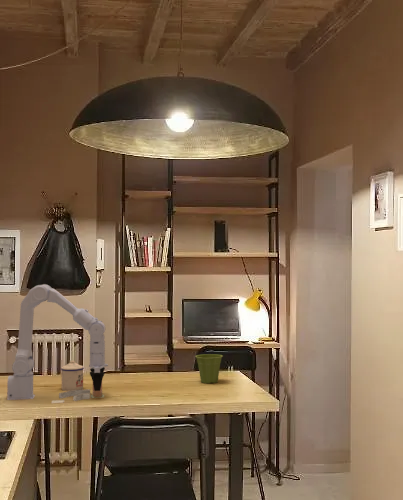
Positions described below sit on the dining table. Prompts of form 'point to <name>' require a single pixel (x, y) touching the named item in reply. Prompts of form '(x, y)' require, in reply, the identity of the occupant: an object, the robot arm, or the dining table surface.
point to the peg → (97, 392)
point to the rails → (76, 394)
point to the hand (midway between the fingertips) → (97, 388)
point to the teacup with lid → (72, 376)
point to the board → (63, 400)
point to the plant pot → (209, 367)
